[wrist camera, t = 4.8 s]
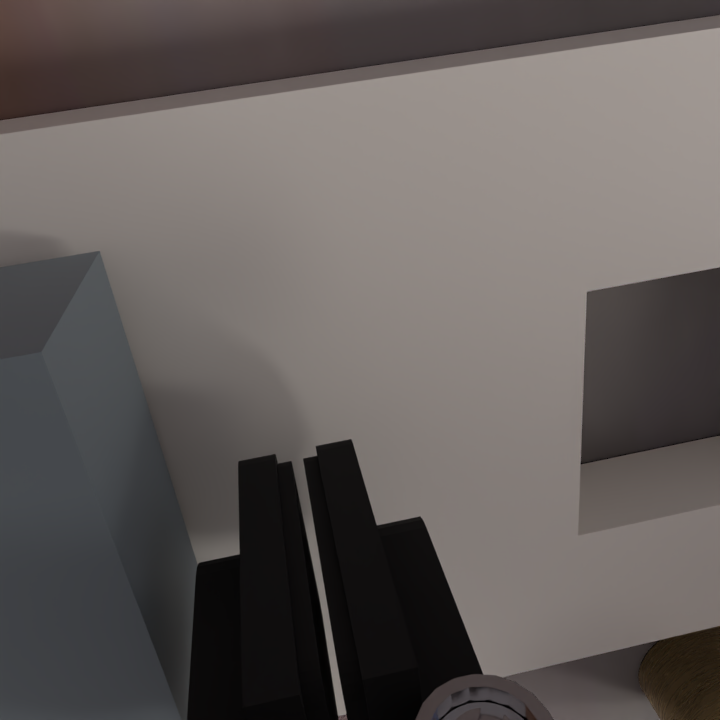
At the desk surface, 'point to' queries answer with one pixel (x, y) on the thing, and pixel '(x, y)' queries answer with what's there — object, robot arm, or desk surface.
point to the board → (415, 307)
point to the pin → (684, 676)
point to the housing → (84, 512)
